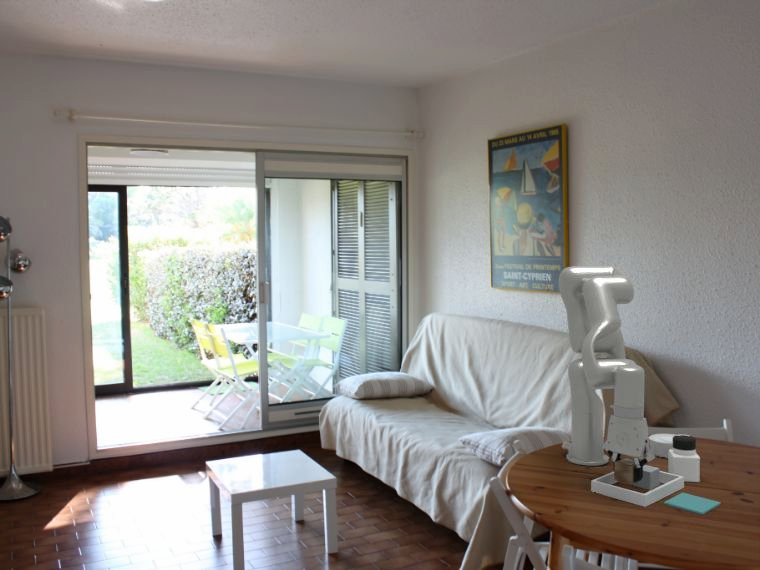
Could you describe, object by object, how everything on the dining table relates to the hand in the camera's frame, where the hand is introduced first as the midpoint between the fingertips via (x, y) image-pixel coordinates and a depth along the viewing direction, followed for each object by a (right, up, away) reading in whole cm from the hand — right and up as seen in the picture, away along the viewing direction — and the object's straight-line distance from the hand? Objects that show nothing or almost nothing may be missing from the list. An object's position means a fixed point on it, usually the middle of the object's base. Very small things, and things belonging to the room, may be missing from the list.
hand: (627, 477), depth 191 cm
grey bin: (+4, -4, +2) cm, 6 cm away
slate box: (+7, -4, +5) cm, 10 cm away
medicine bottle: (+20, -3, +11) cm, 23 cm away
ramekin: (+24, -2, +34) cm, 41 cm away
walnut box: (0, -1, 0) cm, 1 cm away
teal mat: (+13, -4, -9) cm, 17 cm away
